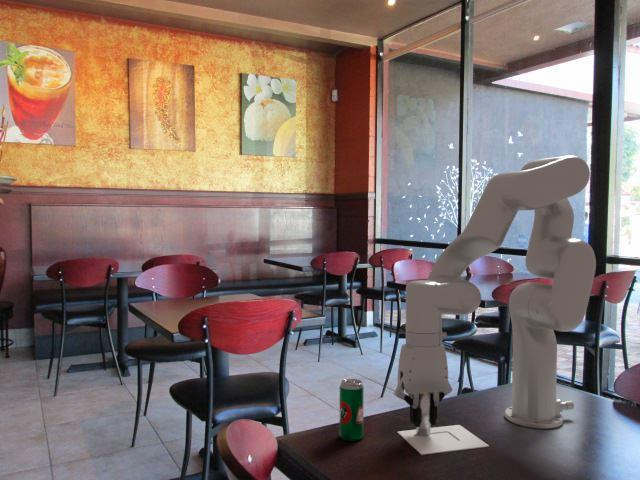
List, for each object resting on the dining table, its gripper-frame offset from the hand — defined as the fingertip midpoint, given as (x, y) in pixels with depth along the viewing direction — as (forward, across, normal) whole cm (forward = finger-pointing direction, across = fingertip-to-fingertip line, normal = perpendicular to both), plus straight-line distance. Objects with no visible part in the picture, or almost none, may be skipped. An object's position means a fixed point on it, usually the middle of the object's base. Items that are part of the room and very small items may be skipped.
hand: (423, 423), depth 120 cm
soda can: (+3, +15, -3) cm, 16 cm away
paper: (+3, -3, +3) cm, 5 cm away
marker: (+2, 0, 0) cm, 2 cm away
